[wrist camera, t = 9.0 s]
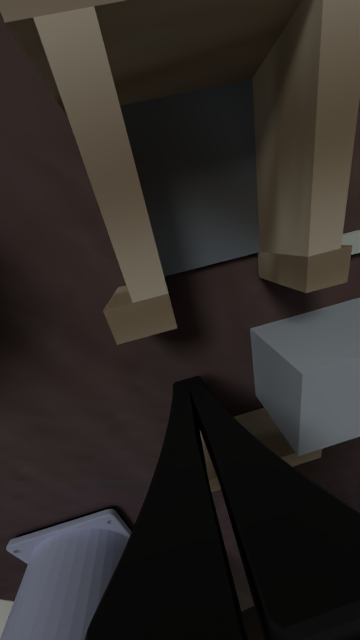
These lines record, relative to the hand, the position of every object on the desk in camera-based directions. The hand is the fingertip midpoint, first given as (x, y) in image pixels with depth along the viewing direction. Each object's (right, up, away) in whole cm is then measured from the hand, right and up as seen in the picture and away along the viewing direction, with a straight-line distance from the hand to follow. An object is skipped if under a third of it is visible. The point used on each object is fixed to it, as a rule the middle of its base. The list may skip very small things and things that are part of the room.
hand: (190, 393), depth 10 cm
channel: (+1, +4, 0) cm, 4 cm away
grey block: (+7, +2, +2) cm, 8 cm away
